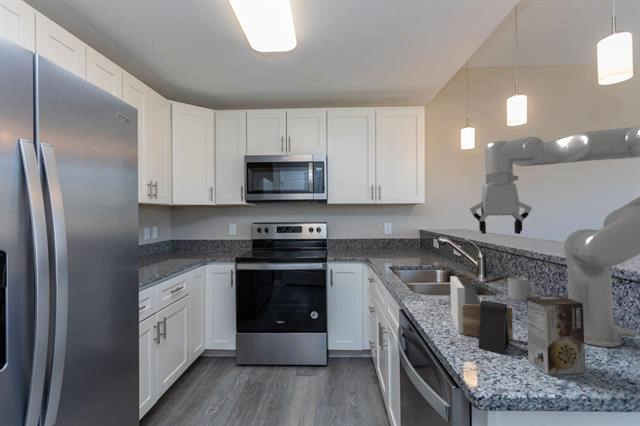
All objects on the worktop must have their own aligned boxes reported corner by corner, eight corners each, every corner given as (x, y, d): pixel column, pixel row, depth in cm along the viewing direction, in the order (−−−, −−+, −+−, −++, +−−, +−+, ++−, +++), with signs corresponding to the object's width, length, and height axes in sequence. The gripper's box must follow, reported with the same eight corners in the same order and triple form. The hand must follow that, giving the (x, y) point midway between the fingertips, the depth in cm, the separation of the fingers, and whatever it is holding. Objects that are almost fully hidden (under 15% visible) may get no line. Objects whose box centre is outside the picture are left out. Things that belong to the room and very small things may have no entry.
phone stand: (503, 355, 77) (502, 308, 77) (478, 348, 81) (477, 304, 81) (510, 343, 83) (509, 300, 83) (486, 337, 87) (485, 297, 87)
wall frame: (457, 314, 108) (456, 276, 108) (465, 333, 90) (464, 288, 91) (451, 314, 108) (450, 276, 108) (458, 333, 91) (457, 287, 91)
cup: (510, 295, 132) (509, 275, 132) (537, 299, 125) (537, 278, 125) (506, 299, 126) (506, 278, 126) (535, 303, 119) (534, 281, 120)
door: (462, 333, 90) (462, 303, 90) (511, 337, 86) (510, 307, 86) (463, 335, 88) (463, 305, 88) (513, 340, 84) (513, 309, 84)
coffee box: (562, 360, 73) (560, 295, 74) (586, 374, 67) (585, 302, 67) (526, 361, 73) (525, 296, 73) (548, 375, 66) (546, 303, 67)
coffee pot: (444, 311, 112) (443, 271, 112) (452, 303, 121) (451, 267, 121) (511, 323, 99) (510, 278, 99) (514, 313, 108) (513, 272, 108)
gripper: (526, 180, 96) (527, 233, 96) (467, 183, 101) (468, 232, 101) (535, 177, 89) (536, 234, 89) (471, 180, 94) (472, 234, 94)
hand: (500, 233), depth 95 cm, fingers open, 9 cm apart
